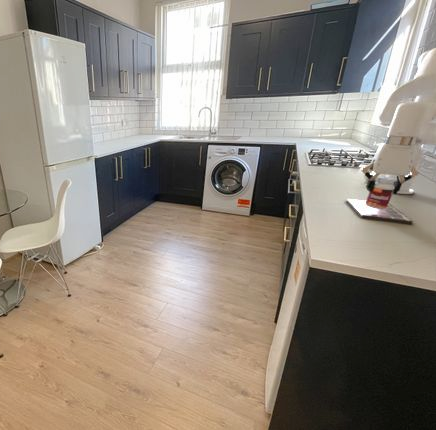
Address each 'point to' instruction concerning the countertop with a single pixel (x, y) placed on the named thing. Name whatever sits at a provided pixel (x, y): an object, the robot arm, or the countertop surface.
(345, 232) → the countertop surface
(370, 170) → the stone
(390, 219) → the board
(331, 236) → the countertop surface
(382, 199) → the pill bottle
